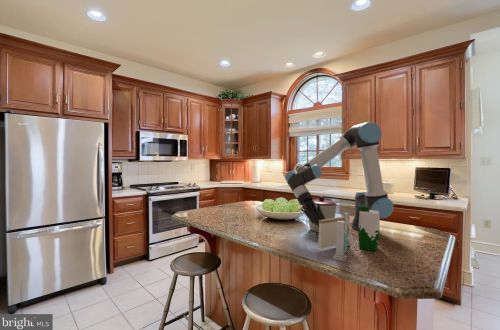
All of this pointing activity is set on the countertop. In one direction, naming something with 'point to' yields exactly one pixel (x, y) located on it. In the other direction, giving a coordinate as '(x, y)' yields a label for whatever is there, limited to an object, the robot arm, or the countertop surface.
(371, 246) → the milk carton
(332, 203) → the canister
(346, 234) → the gate frame
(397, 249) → the countertop surface
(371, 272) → the countertop surface
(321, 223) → the gate
